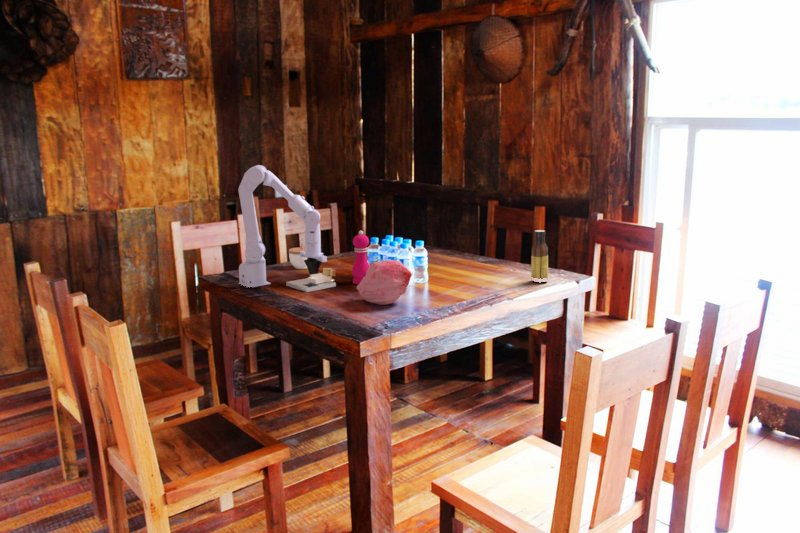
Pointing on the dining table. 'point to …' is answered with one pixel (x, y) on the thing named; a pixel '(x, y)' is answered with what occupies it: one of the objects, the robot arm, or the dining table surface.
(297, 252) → the lidded jar
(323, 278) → the cream flat block
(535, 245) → the sauce bottle
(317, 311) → the dining table surface
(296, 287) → the panel
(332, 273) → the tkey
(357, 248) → the pepper mill
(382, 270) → the decorative rock
